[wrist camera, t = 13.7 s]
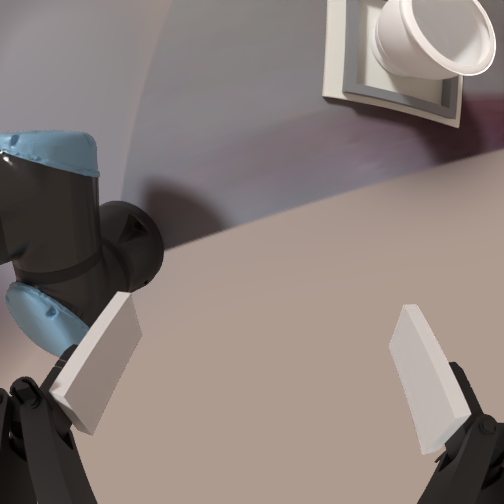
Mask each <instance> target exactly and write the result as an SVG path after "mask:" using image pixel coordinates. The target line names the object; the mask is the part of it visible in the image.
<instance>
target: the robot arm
mask: <svg viewBox="0 0 504 504" xmlns="http://www.w3.org/2000/svg"><path fill="white" fill-rule="evenodd" d="M99 176H100V173H99V171H98V165H97V146H96V142H95V140H94V138H93V137H92V136H91V135H89V134H88V133H85V132H79V131H66V130H65V131H64V130H31V131H16V132H6V133H0V265H2V264H4V263H7V262H10V261H12V263H13V267H14V271H15V274H16V282H13V283H11V284H10V286H9V289H8V290H7V294H6V304H7V307H8V310H9V312H10V314H11V316H12V317H13V319H14V321H15V322H16V324H17V325H18V326H19V328H20V329H21V330H22V331H23V332H24V333H25V334H26V336H28V337H29V338H30V339H31V340H32V341H33V342H34V343H35V344H36V345H38V346H39V347H41V348H42V349H44V350H45V351H47V352H49V353H51V354H53V355H55V356H57V357H60V358H59V360H58V361H57V362H56V364H55V367H53V368H52V370H51V371H50V373H49V374H48V376H47V377H46V379H45V380H44V382H43V383H42V385H41V386H40V388H39V387H38V386H37V384H36V383H35V381H34V380H33V379H32V378H31V377H21V378H19V379H17V380H16V381H15V382H13V384H12V386H11V387H10V394H11V395H12V396H9V395H8V393H7V392H6V391H5V390H4V389H3V388H0V504H37V502H38V504H97V501H96V499H95V496H94V494H93V492H92V489H91V487H90V484H89V482H88V479H87V476H86V474H85V471H84V468H83V465H82V462H81V459H80V456H79V453H78V451H77V447H76V444H75V441H74V437H73V434H72V431H71V430H70V427H71V425H72V423H73V425H74V426H75V427H76V428H77V430H79V431H81V432H84V433H87V434H89V435H93V434H94V431H95V429H96V427H97V425H98V423H99V420H100V418H101V416H102V414H103V412H104V410H105V408H106V406H107V404H108V401H109V399H110V397H111V395H112V393H113V391H114V389H115V387H116V385H117V383H118V381H119V379H120V377H121V375H122V373H123V371H124V369H125V367H126V365H127V363H128V361H129V359H130V357H131V355H132V353H133V351H134V350H135V348H136V346H137V344H138V342H139V340H140V338H141V336H142V333H141V330H140V326H139V322H138V319H137V315H136V311H135V307H134V304H133V300H132V296H131V293H132V292H134V291H136V290H138V289H140V288H142V287H144V286H146V285H147V284H148V283H149V282H150V281H151V280H152V279H153V278H154V277H155V275H156V274H157V273H158V271H159V270H160V267H161V265H162V262H163V255H164V249H163V242H162V239H161V236H160V233H159V231H158V229H157V227H156V225H155V224H154V222H153V221H152V220H151V219H150V217H149V216H148V215H147V214H146V213H145V212H143V211H142V210H141V209H139V208H138V207H136V206H134V205H132V204H130V203H127V202H123V201H110V202H106V203H104V204H102V205H100V206H99V187H98V177H99ZM389 349H390V352H391V354H392V357H393V360H394V362H395V366H396V368H397V371H398V374H399V377H400V380H401V383H402V386H403V389H404V392H405V396H406V399H407V402H408V405H409V408H410V412H411V415H412V418H413V422H414V425H415V429H416V433H417V436H418V440H419V444H420V448H421V451H422V455H423V454H428V453H432V452H435V451H438V450H439V449H440V448H441V447H442V446H443V445H444V444H445V447H446V451H445V452H444V453H442V454H441V455H440V456H439V457H438V458H437V460H436V461H435V462H436V463H437V462H438V461H439V460H440V462H439V464H438V466H437V468H436V470H435V472H434V474H433V476H432V478H431V480H430V482H429V483H428V485H427V487H426V489H425V491H424V492H423V494H422V496H421V498H420V499H419V501H418V503H417V504H504V423H497V422H496V420H495V419H494V418H493V417H492V416H490V415H487V414H484V413H483V411H482V409H481V407H480V405H479V402H478V401H477V399H476V396H475V394H474V392H473V390H472V388H471V387H470V383H469V381H468V380H467V377H466V375H465V373H464V371H463V369H462V368H461V367H460V366H458V364H457V363H456V362H449V363H448V361H447V359H446V357H445V355H444V353H443V351H442V349H441V347H440V345H439V343H438V342H437V340H436V338H435V336H434V334H433V332H432V330H431V329H430V327H429V325H428V323H427V321H426V320H425V318H424V316H423V314H422V312H421V311H420V309H419V308H418V306H417V305H416V304H411V305H403V308H402V311H401V314H400V317H399V320H398V322H397V326H396V328H395V331H394V334H393V336H392V339H391V342H390V344H389ZM9 432H10V436H9Z"/></svg>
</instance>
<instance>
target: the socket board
mask: <svg viewBox="0 0 504 504" xmlns="http://www.w3.org/2000/svg"><path fill="white" fill-rule="evenodd" d="M387 1H388V0H327V25H326V47H325V65H324V80H323V93H322V96H323V97H330V98H337V99H343V100H349V101H354V102H360V103H365V104H370V105H375V106H379V107H384V108H388V109H392V110H396V111H400V112H404V113H408V114H412V115H416V116H419V117H423V118H426V119H430V120H433V121H436V122H439V123H443V124H446V125H449V126H452V127H455V128H459V123H460V113H461V101H462V82H463V75H458V76H455V77H452V78H448V79H440V80H431V79H423V78H416V77H401V76H397V75H395V74H392V73H391V72H389V71H387V70H386V69H385V68H384V67H382V66H381V64H380V63H379V62H378V61H377V59H376V58H375V56H374V54H373V52H372V49H371V44H370V37H371V33H372V30H373V29H374V27H375V26H376V23H377V21H378V18H379V16H380V13H381V11H382V9H383V7H384V5H385V4H386V2H387Z"/></svg>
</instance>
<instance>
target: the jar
mask: <svg viewBox="0 0 504 504" xmlns="http://www.w3.org/2000/svg"><path fill="white" fill-rule="evenodd" d="M370 44H371V49H372V52H373V54H374V56H375V58H376V59H377V61H378V62H379V63H380V64H381V66H382V67H384V68H385V69H386V70H387V71H389V72H391V73H392V74H395V75H397V76H401V77H416V78H423V79H431V80H440V79H448V78H452V77H455V76H458V75H464V76H470V75H477V74H480V73H482V72H484V71H485V70H487V69H488V68H489V66H490V65H491V63H492V62H493V59H494V56H495V51H496V41H495V34H494V30H493V27H492V24H491V22H490V20H489V17H488V16H487V14H486V12H485V10H484V9H483V7H482V6H481V4H480V3H479V2H478V1H477V0H388V1H387V2H386V4H385V5H384V7H383V9H382V11H381V13H380V16H379V18H378V21H377V23H376V26H375V27H374V29H373V30H372V33H371V37H370Z"/></svg>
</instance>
